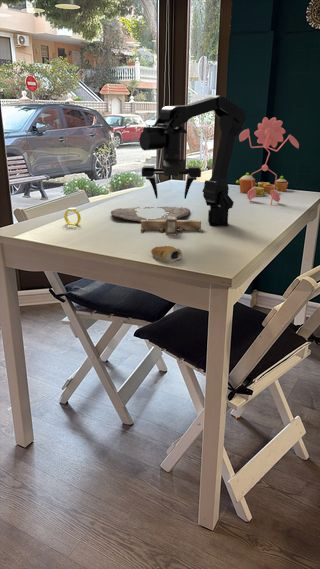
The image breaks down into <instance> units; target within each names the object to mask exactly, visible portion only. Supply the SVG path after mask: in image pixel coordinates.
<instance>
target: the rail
mask: <svg viewBox="0 0 320 569" xmlns="http://www.w3.org/2000/svg"><path fill="white" fill-rule="evenodd" d="M177 229H179V230H178V231H180V232H179V233H183V230H182V229H185V230H184V231H198V230H199V231H198V233H199V232H201V233H202V220H200V219H185V220H184V219H177ZM144 231H159V232H160V233H163V231H166V220H141V222H140V233H144Z"/></svg>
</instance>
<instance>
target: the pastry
mask: <svg viewBox="0 0 320 569" xmlns="http://www.w3.org/2000/svg"><path fill="white" fill-rule="evenodd" d="M151 254H152V256H153V257H154V258H155V260H158V261H160V262H162V263H164V264H165V263H166V264H171V263H174V262H176V261H177V262H178V261H180V260H181V259H182V258H183V252H182V250H181V249H180V248H176V247H174V246H173V245H172V246H171V245H163V246H155V247H153V248H152V249H151Z"/></svg>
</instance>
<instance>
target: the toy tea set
mask: <svg viewBox="0 0 320 569" xmlns="http://www.w3.org/2000/svg"><path fill="white" fill-rule="evenodd" d="M235 183H236V184H239V192H240V193H241V194H247V193H248V191H249V190H250V189H252V185H253V189H255V190H256V195H255V196H254V197H263V196H264V195H270V192H271V190H274V185H275V191H276V192H280V193H281V192H282V193H283V192H284V193H285V192H287V189H288V184H289V182H288V181H287V180H286V179H285V178H284V176H283V175H281V176H279V178H278V179H276V184H271V183H270V182H264V181H259V182H256V179H255V178H254V177H253V176H252V183H251V174H250V173H249V172H246V173H245V175H243V176H241V177H240V178H239V180H238V179H237V180H236V181H235Z"/></svg>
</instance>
